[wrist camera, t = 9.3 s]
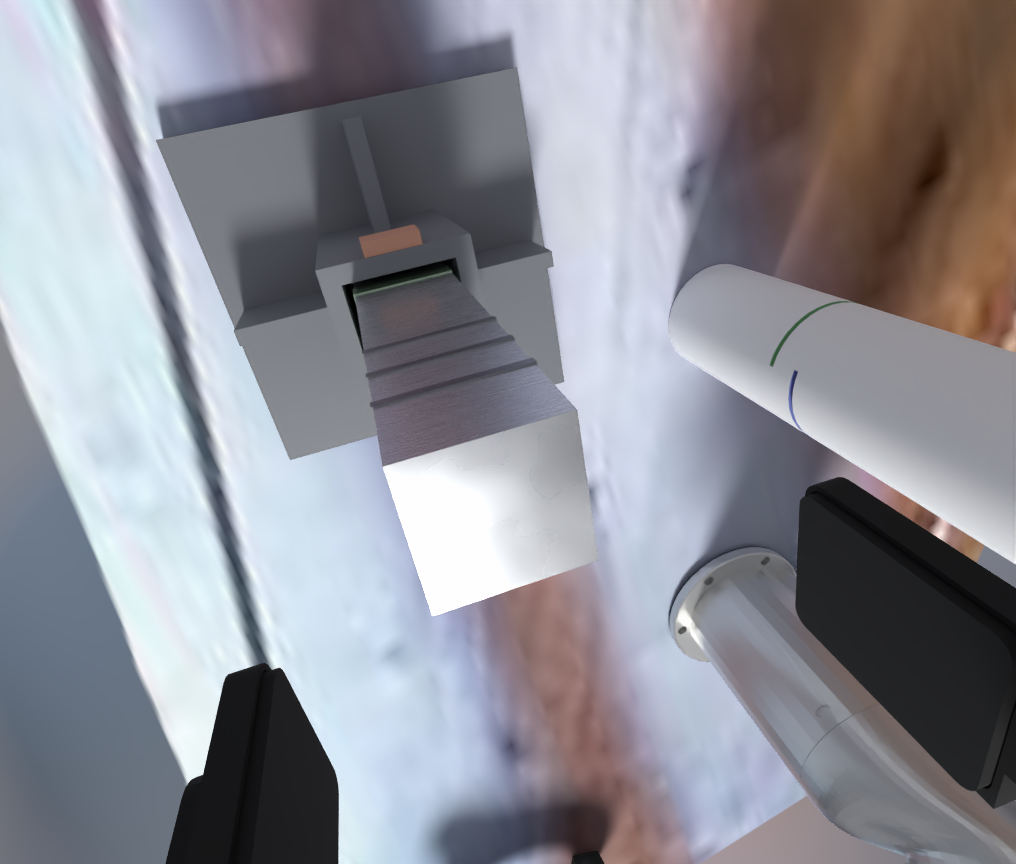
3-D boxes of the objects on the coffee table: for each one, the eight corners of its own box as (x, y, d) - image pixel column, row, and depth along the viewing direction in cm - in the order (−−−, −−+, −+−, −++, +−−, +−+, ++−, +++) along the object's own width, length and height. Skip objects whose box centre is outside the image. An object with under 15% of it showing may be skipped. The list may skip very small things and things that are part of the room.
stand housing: (509, 70, 32) (585, 41, 23) (556, 374, 41) (626, 446, 31) (163, 139, 30) (84, 140, 20) (291, 449, 38) (278, 552, 29)
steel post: (437, 255, 28) (578, 407, 12) (457, 338, 30) (600, 561, 14) (350, 276, 27) (379, 465, 12) (376, 360, 29) (430, 618, 13)
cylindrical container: (664, 370, 43) (1007, 606, 21) (672, 268, 40) (1085, 426, 18) (752, 357, 45) (1155, 566, 23) (767, 258, 41) (1251, 392, 20)
